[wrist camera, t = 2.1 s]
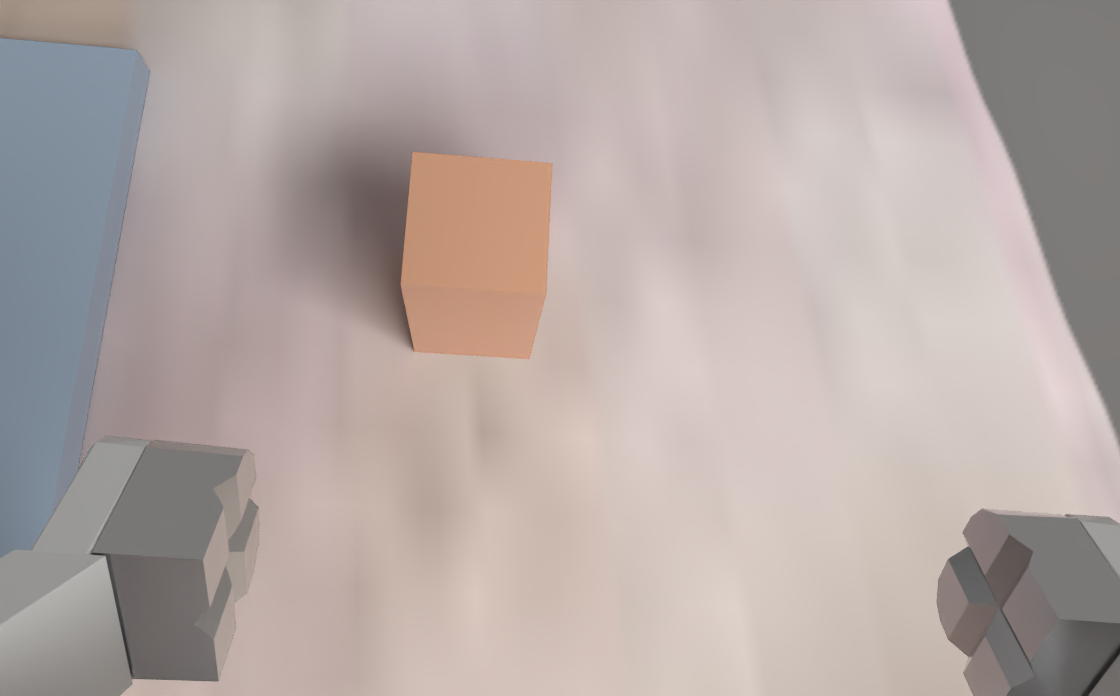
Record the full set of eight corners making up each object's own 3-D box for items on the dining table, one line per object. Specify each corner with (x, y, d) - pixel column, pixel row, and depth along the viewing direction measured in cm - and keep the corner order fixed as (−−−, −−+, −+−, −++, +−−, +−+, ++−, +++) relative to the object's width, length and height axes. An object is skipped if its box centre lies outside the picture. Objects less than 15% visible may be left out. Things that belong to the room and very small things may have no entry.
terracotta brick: (529, 359, 36) (546, 294, 29) (414, 351, 36) (400, 284, 28) (534, 252, 38) (552, 163, 30) (423, 244, 37) (412, 151, 30)
